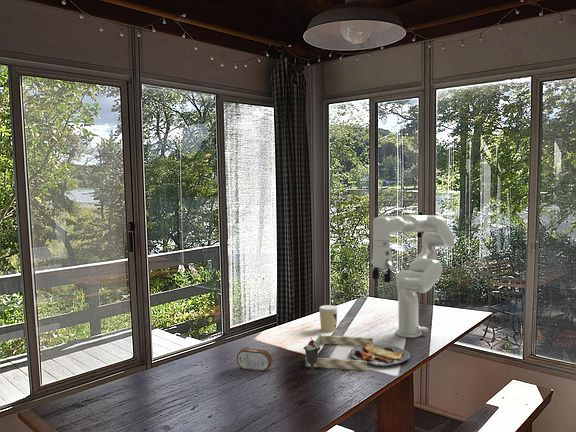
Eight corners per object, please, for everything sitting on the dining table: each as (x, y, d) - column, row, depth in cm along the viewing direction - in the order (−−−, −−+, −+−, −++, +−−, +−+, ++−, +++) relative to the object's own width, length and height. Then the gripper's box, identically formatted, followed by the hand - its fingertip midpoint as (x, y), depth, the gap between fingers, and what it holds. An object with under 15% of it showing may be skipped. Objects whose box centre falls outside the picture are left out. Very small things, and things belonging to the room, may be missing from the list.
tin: (272, 370, 198) (272, 349, 197) (270, 372, 195) (269, 352, 194) (239, 366, 203) (238, 346, 202) (236, 369, 200) (235, 349, 199)
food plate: (339, 358, 209) (339, 350, 209) (369, 345, 226) (369, 337, 226) (390, 374, 192) (390, 365, 192) (418, 358, 209) (419, 350, 209)
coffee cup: (338, 332, 246) (338, 309, 245) (320, 332, 246) (319, 309, 245) (337, 327, 255) (336, 304, 254) (319, 327, 255) (318, 305, 255)
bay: (372, 345, 225) (372, 337, 225) (366, 370, 195) (366, 361, 195) (319, 342, 231) (319, 335, 231) (305, 366, 201) (305, 357, 201)
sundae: (309, 377, 189) (308, 339, 188) (301, 371, 195) (300, 334, 194) (323, 373, 192) (323, 336, 191) (315, 368, 198) (314, 332, 197)
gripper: (399, 245, 219) (399, 282, 220) (378, 241, 235) (378, 276, 236) (384, 246, 216) (385, 284, 217) (364, 242, 232) (364, 278, 233)
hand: (381, 280), depth 227 cm, fingers open, 9 cm apart
